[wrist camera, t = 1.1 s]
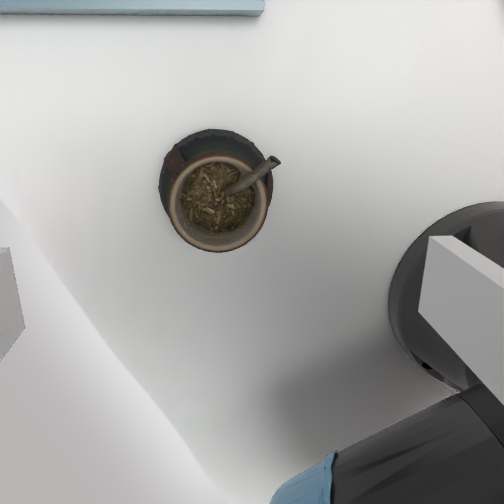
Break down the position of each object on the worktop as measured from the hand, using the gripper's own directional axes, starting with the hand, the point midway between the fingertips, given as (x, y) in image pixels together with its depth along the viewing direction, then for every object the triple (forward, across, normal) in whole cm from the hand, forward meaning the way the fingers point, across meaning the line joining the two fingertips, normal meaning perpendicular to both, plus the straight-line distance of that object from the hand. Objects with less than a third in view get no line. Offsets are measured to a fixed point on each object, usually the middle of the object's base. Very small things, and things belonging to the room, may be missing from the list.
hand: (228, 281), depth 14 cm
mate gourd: (+19, 0, 0) cm, 19 cm away
